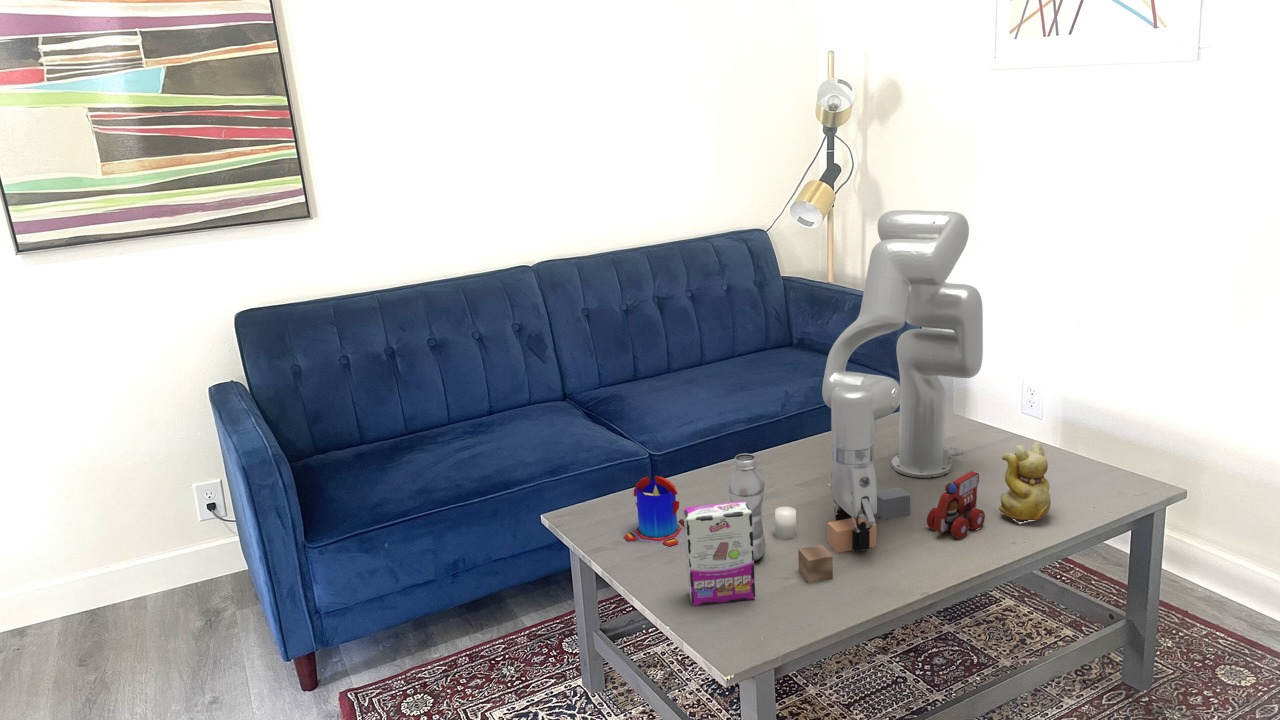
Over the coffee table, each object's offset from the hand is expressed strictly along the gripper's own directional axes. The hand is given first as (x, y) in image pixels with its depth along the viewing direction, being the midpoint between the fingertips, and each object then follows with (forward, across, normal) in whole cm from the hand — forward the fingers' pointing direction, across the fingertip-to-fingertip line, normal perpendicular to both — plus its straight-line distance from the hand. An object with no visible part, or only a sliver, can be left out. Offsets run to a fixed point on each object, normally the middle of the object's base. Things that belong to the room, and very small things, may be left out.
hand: (852, 540), depth 173 cm
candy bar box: (+1, -9, +29) cm, 30 cm away
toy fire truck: (+1, -1, -21) cm, 21 cm away
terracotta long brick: (+1, 0, 0) cm, 1 cm away
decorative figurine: (+1, -2, -36) cm, 36 cm away
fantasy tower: (+1, +18, +33) cm, 38 cm away
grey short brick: (+1, +9, -13) cm, 16 cm away
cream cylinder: (+1, +8, +10) cm, 13 cm away
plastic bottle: (+1, +2, +20) cm, 20 cm away
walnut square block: (+1, -8, +11) cm, 14 cm away
